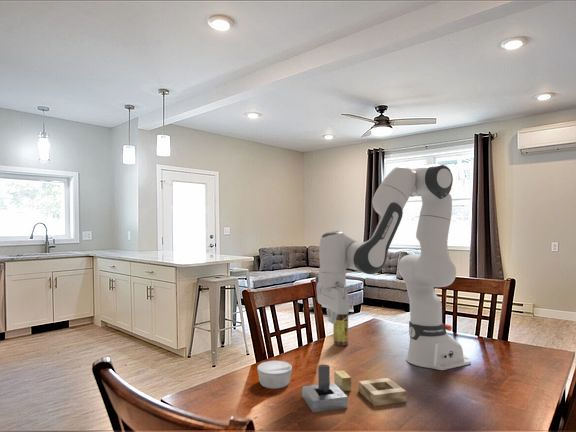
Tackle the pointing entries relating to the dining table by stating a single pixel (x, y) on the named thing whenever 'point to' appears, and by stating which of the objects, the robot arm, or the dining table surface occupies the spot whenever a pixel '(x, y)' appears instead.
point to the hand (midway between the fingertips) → (332, 322)
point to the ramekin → (274, 374)
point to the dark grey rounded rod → (323, 380)
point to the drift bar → (342, 380)
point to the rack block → (382, 391)
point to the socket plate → (324, 398)
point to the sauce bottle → (341, 330)
